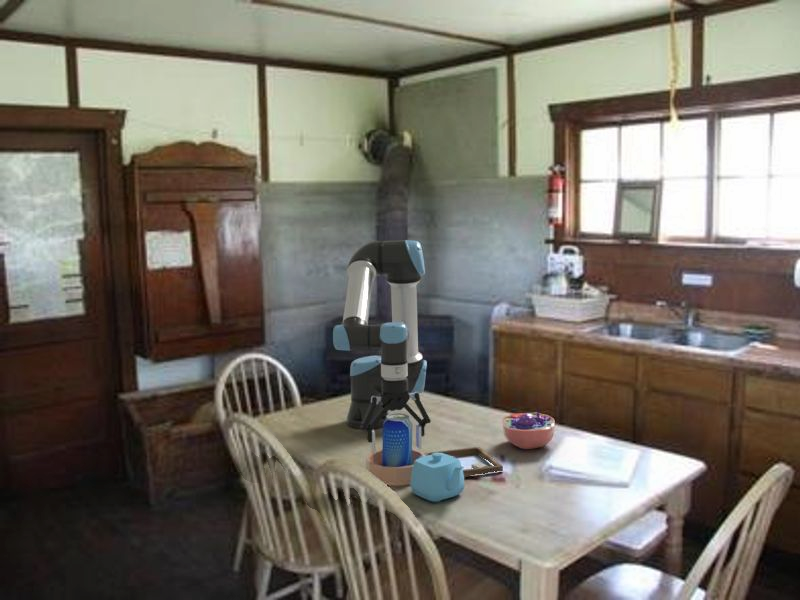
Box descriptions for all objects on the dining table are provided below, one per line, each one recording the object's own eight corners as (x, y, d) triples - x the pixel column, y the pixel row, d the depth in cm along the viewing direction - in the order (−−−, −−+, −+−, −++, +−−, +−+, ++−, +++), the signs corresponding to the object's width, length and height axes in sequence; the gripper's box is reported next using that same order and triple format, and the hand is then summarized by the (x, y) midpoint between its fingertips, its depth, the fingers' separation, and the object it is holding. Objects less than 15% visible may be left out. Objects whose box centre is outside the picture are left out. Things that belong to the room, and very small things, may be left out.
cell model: (562, 439, 247) (562, 405, 246) (546, 459, 229) (547, 423, 228) (511, 433, 254) (511, 400, 253) (492, 452, 237) (492, 417, 235)
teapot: (445, 513, 193) (445, 470, 191) (401, 492, 207) (400, 451, 205) (481, 500, 200) (481, 458, 199) (436, 481, 214) (436, 441, 213)
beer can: (415, 467, 222) (416, 414, 220) (405, 477, 215) (406, 422, 212) (388, 463, 225) (389, 410, 223) (377, 473, 217) (378, 419, 215)
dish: (359, 467, 226) (358, 451, 225) (417, 460, 231) (417, 444, 230) (374, 489, 209) (373, 472, 208) (436, 481, 214) (436, 464, 213)
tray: (423, 459, 232) (423, 453, 231) (479, 452, 236) (479, 446, 236) (443, 480, 214) (443, 473, 214) (502, 472, 219) (502, 466, 219)
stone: (471, 471, 221) (471, 464, 221) (478, 469, 223) (478, 462, 223) (479, 475, 218) (479, 467, 218) (487, 472, 220) (487, 465, 220)
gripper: (354, 384, 209) (356, 459, 212) (440, 376, 216) (441, 449, 219) (348, 378, 216) (350, 450, 219) (432, 370, 223) (433, 441, 226)
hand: (396, 450), depth 219 cm, fingers open, 13 cm apart
